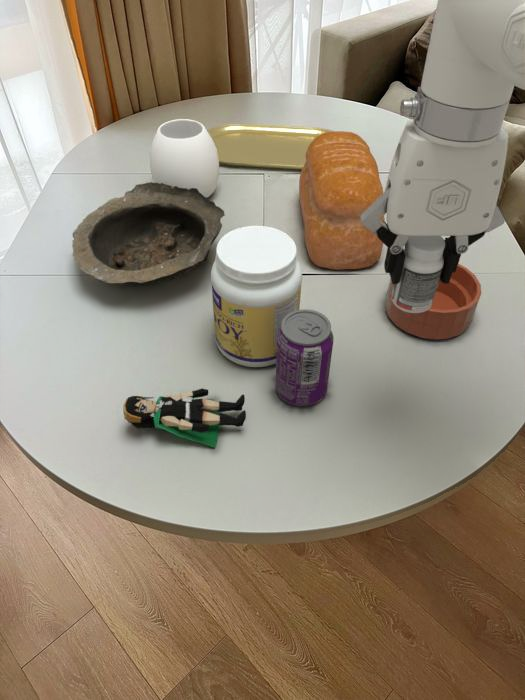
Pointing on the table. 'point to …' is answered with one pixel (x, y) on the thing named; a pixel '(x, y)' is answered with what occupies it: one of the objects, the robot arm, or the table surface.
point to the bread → (339, 201)
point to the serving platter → (263, 145)
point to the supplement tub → (253, 292)
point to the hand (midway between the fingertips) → (417, 274)
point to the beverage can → (303, 357)
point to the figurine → (184, 415)
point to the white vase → (185, 156)
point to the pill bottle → (419, 274)
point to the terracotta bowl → (441, 308)
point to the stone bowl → (147, 235)
